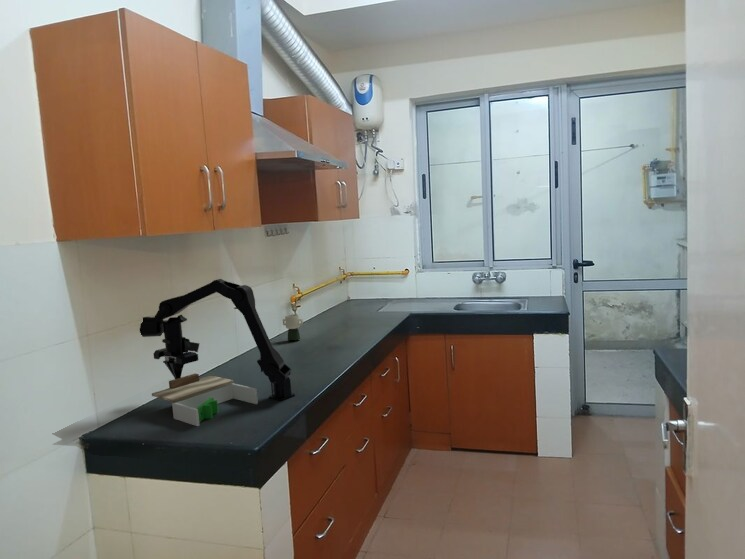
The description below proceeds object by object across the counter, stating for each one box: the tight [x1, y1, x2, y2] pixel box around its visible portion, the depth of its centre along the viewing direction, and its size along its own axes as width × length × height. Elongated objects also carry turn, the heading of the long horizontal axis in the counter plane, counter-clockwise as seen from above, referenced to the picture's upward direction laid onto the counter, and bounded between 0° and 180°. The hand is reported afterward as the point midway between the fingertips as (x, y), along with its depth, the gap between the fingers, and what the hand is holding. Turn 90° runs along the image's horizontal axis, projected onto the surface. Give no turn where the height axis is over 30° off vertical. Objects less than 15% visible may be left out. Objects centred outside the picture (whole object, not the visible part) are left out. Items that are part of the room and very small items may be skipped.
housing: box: [171, 382, 259, 427], centre depth 170 cm, size 13×23×5 cm, turn 141°
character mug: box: [282, 313, 304, 341], centre depth 268 cm, size 11×7×13 cm, turn 74°
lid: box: [151, 373, 235, 403], centre depth 177 cm, size 13×23×3 cm, turn 141°
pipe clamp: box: [196, 398, 219, 423], centre depth 166 cm, size 10×4×4 cm, turn 173°
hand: (178, 380), depth 183 cm, fingers closed
